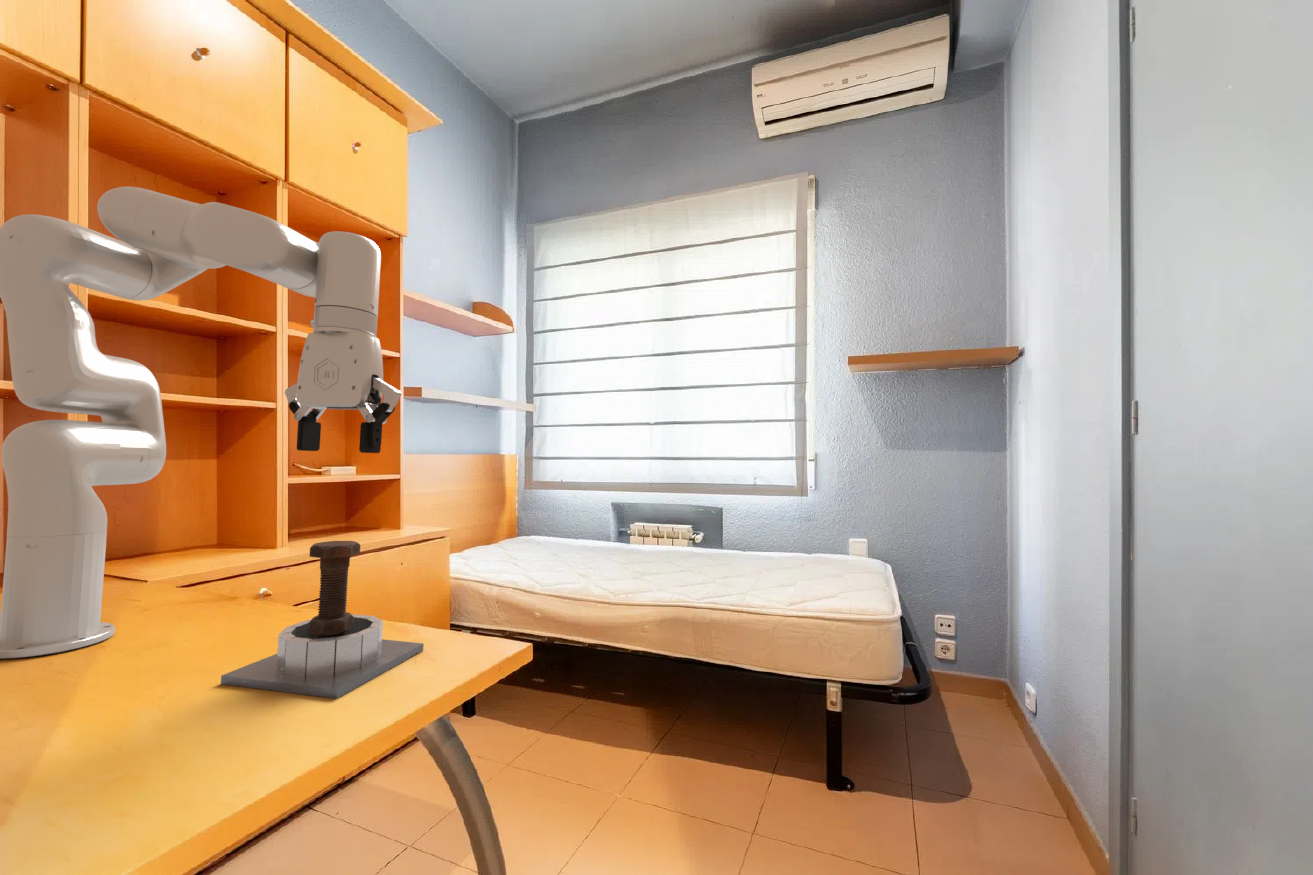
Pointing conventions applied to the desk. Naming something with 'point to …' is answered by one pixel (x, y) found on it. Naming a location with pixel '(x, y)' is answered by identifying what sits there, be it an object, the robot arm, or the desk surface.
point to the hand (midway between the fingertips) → (338, 451)
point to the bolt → (333, 588)
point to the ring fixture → (325, 660)
